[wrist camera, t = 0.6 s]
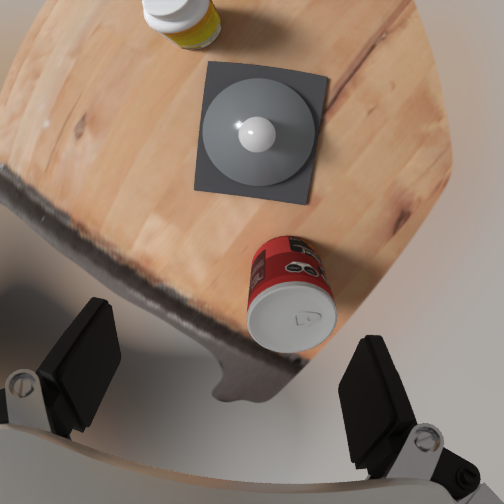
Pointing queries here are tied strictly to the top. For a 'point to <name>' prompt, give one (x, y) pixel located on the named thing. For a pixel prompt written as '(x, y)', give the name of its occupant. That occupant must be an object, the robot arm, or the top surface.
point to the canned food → (289, 297)
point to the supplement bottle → (184, 21)
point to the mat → (230, 73)
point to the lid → (258, 132)
